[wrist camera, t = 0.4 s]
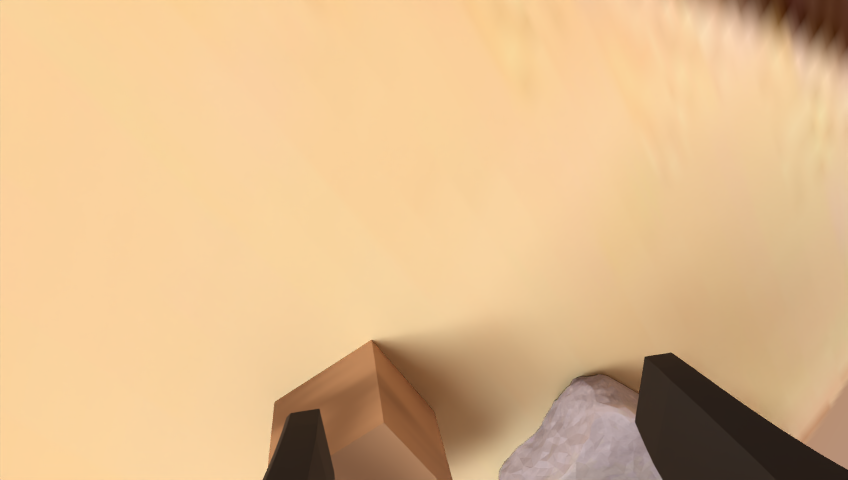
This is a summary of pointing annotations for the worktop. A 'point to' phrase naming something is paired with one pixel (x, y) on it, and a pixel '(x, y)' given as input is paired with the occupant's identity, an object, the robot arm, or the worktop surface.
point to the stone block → (585, 437)
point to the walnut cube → (369, 420)
